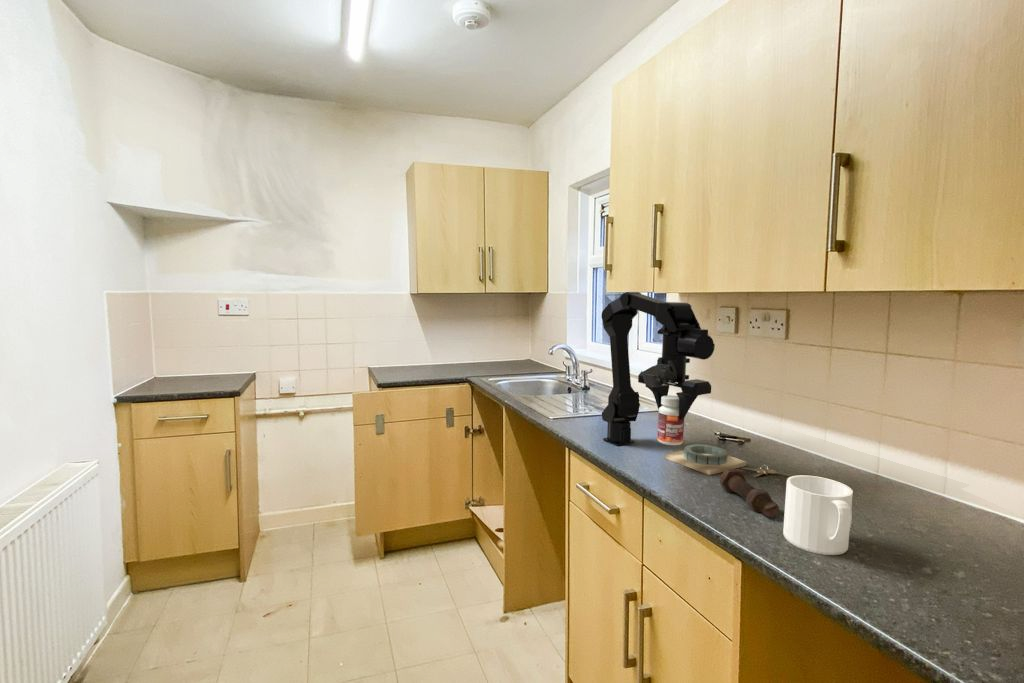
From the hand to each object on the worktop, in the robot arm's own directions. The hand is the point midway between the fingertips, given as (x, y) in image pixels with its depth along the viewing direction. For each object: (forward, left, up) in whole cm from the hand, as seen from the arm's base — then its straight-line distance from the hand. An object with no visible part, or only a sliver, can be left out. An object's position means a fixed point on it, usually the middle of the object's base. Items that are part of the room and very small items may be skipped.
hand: (671, 416), depth 127 cm
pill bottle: (0, 0, -7) cm, 7 cm away
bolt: (+24, -2, -13) cm, 27 cm away
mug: (+41, -7, -13) cm, 44 cm away
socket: (+2, +11, -13) cm, 17 cm away
